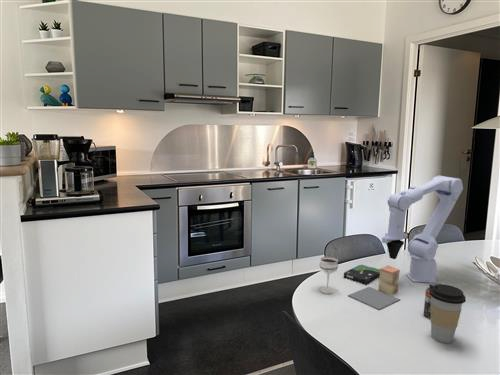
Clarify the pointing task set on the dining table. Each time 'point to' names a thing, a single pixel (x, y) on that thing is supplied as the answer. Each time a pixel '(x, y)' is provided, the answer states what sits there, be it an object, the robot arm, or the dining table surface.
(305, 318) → the dining table surface
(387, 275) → the maple block
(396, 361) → the dining table surface
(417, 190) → the robot arm
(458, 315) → the coffee cup
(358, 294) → the mat
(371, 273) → the disk drive
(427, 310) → the supplement bottle
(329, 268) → the wineglass
